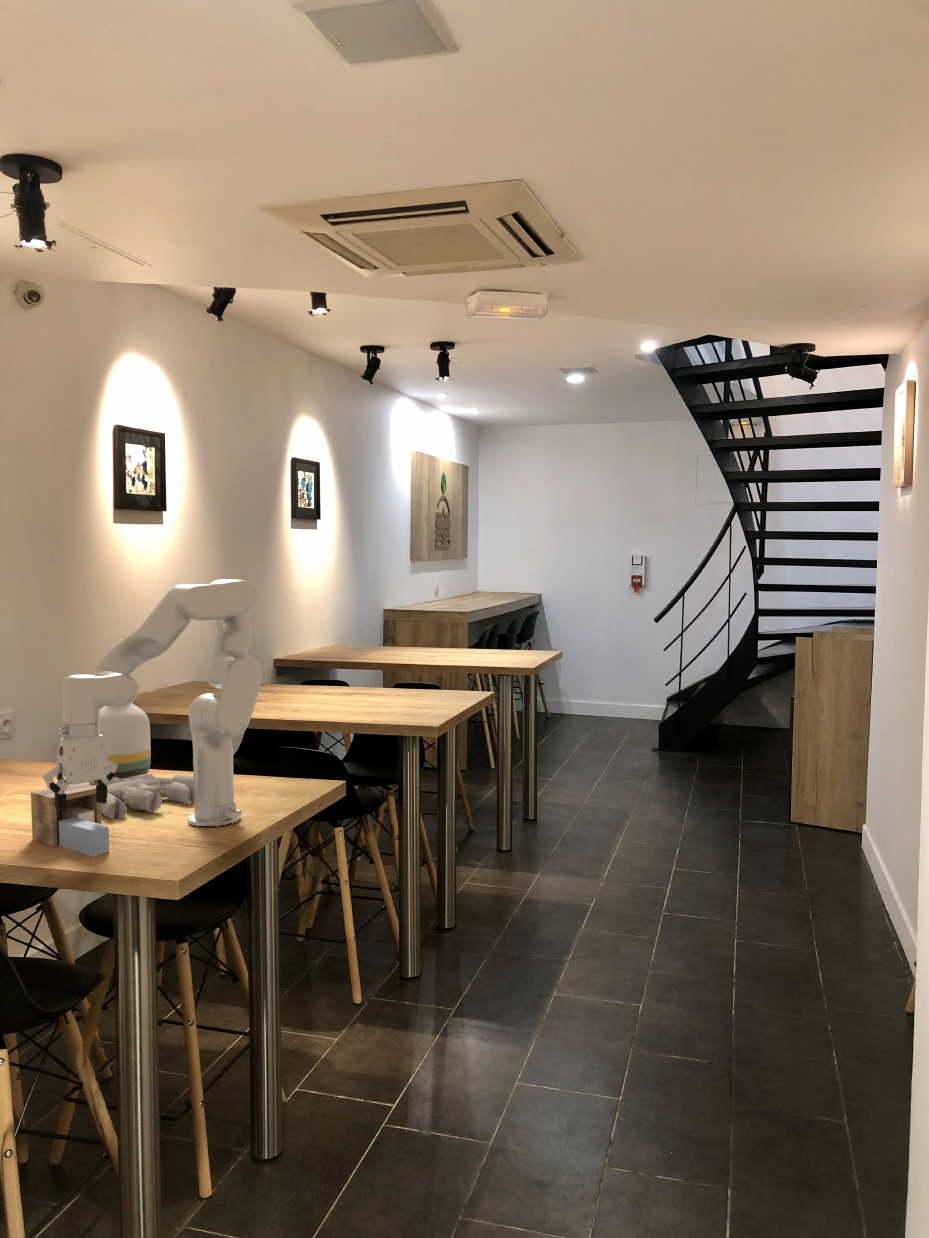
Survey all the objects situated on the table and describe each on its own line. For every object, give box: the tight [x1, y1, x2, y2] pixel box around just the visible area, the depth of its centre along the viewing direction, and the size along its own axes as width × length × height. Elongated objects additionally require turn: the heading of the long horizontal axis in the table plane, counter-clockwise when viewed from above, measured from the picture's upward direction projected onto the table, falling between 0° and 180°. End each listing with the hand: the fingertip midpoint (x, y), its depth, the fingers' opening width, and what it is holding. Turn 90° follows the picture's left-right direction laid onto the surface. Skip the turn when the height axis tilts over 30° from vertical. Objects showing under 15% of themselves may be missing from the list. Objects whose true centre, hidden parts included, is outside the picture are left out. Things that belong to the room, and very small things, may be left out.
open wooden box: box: [30, 783, 102, 847], centre depth 217 cm, size 9×12×11 cm
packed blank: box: [62, 806, 95, 823], centre depth 219 cm, size 7×4×6 cm, turn 53°
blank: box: [58, 817, 110, 857], centre depth 208 cm, size 13×4×6 cm, turn 55°
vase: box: [99, 702, 152, 779], centre depth 274 cm, size 17×17×24 cm
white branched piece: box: [93, 773, 194, 820], centre depth 250 cm, size 31×7×30 cm
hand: (81, 806), depth 207 cm, fingers open, 9 cm apart
